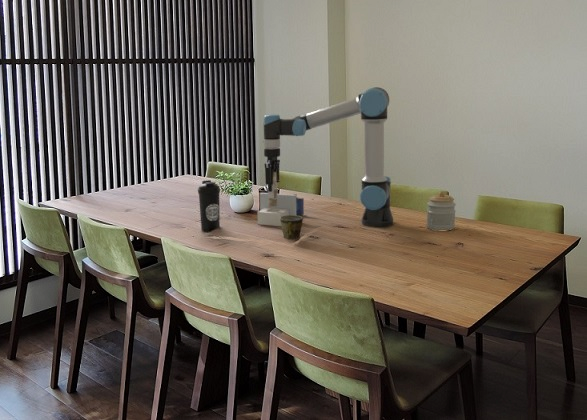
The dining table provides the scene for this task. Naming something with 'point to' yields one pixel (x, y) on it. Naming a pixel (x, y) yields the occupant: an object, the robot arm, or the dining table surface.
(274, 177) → the dowel
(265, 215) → the sliding block
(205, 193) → the water bottle
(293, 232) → the ceramic cup
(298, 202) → the flask
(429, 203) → the jar
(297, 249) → the dining table surface
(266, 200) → the backstop wall
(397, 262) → the dining table surface
